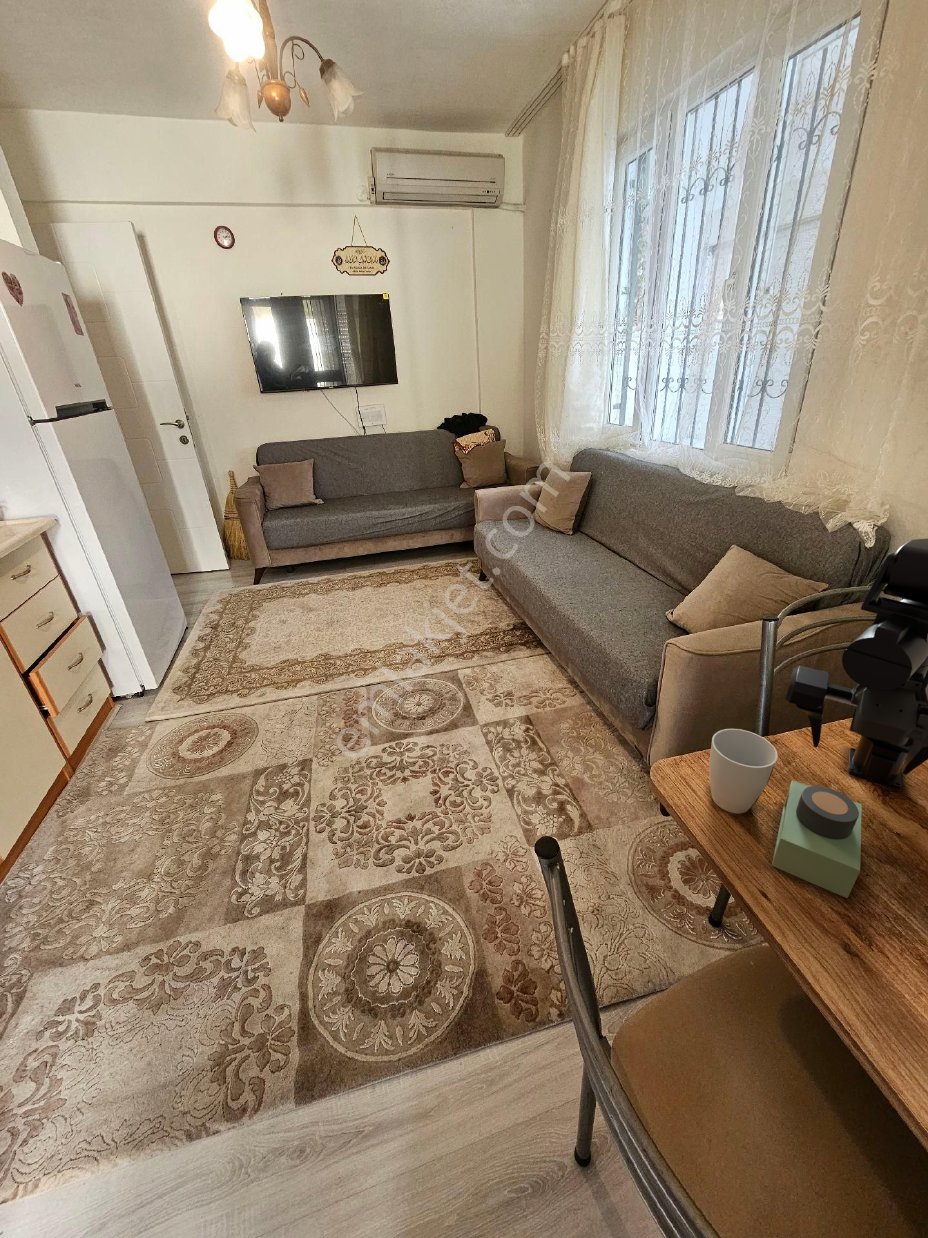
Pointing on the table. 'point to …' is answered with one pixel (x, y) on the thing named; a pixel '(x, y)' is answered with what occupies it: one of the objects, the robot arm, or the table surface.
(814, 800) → the tape
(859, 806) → the sage green box
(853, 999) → the table surface
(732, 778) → the cup
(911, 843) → the table surface
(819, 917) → the table surface
